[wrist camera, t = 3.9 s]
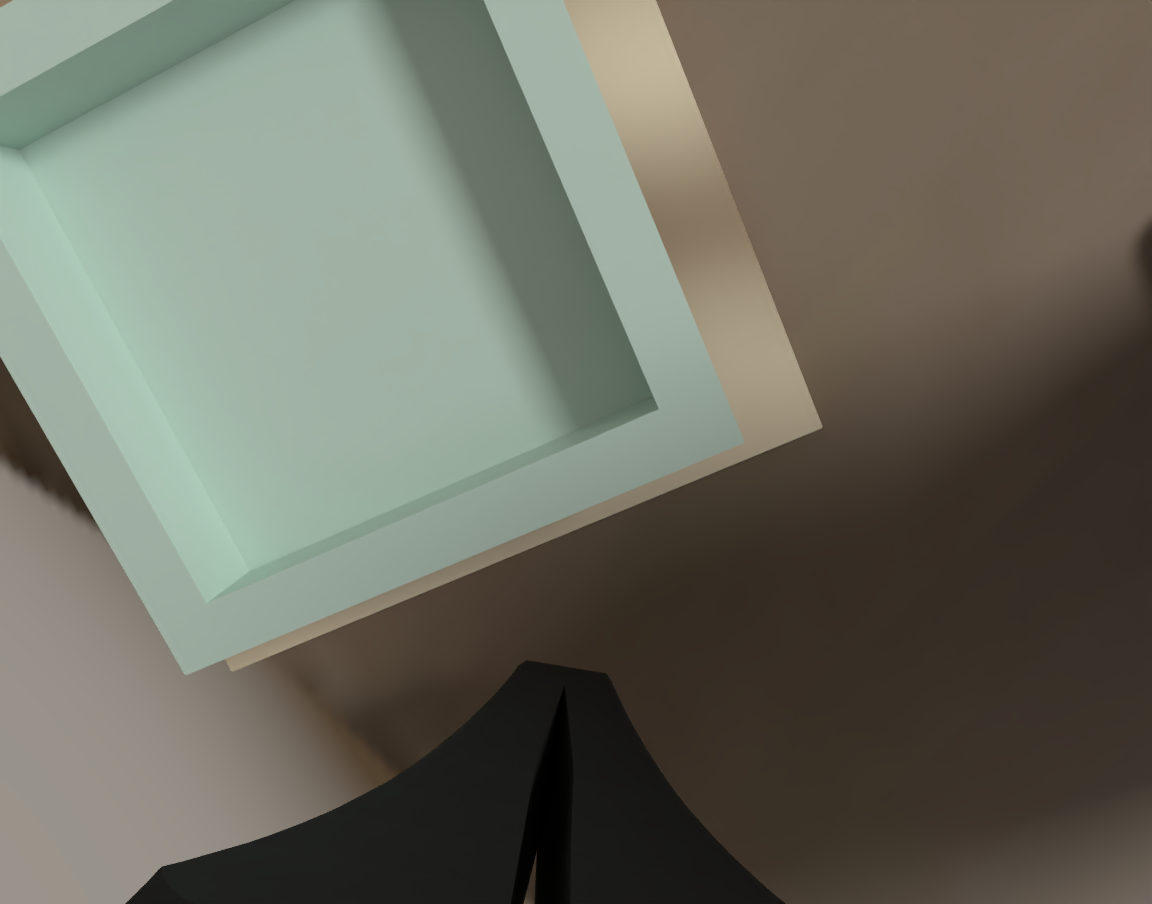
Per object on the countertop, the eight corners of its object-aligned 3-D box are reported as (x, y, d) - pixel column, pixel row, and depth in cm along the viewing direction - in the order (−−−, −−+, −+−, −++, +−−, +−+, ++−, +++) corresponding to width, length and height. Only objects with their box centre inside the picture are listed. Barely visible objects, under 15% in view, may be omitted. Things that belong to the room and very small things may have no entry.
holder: (723, 418, 11) (744, 443, 9) (251, 617, 12) (185, 675, 10) (488, -148, 10) (458, -255, 8) (-18, 130, 11) (-152, 94, 9)
